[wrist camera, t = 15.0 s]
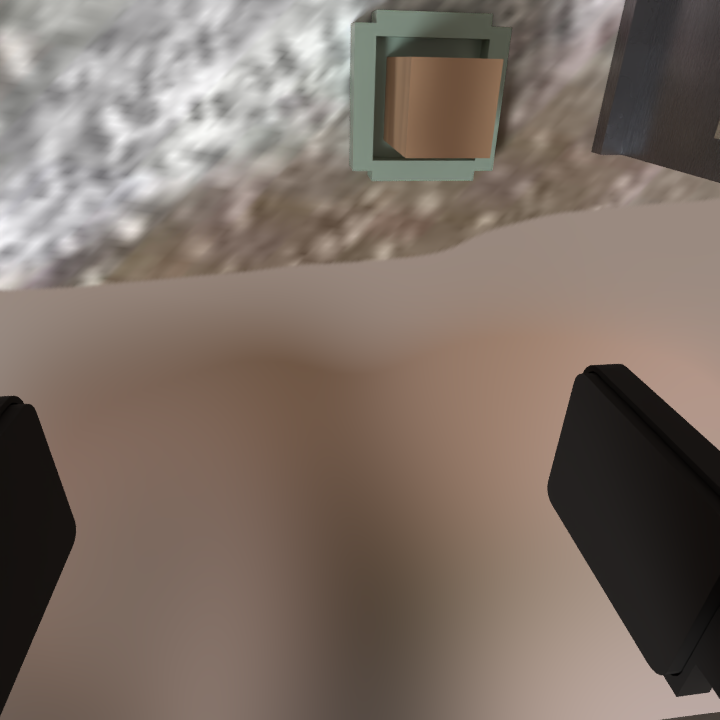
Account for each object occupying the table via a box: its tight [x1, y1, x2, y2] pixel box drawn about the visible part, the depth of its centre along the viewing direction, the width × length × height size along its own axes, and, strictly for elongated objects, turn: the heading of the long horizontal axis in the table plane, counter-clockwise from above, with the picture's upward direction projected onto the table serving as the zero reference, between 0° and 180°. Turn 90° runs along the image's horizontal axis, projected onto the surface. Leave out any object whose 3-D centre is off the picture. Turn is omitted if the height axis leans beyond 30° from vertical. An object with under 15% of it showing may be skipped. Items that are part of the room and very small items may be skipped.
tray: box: [349, 10, 512, 181], centre depth 32 cm, size 9×9×2 cm
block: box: [383, 57, 504, 158], centre depth 29 cm, size 4×4×7 cm
